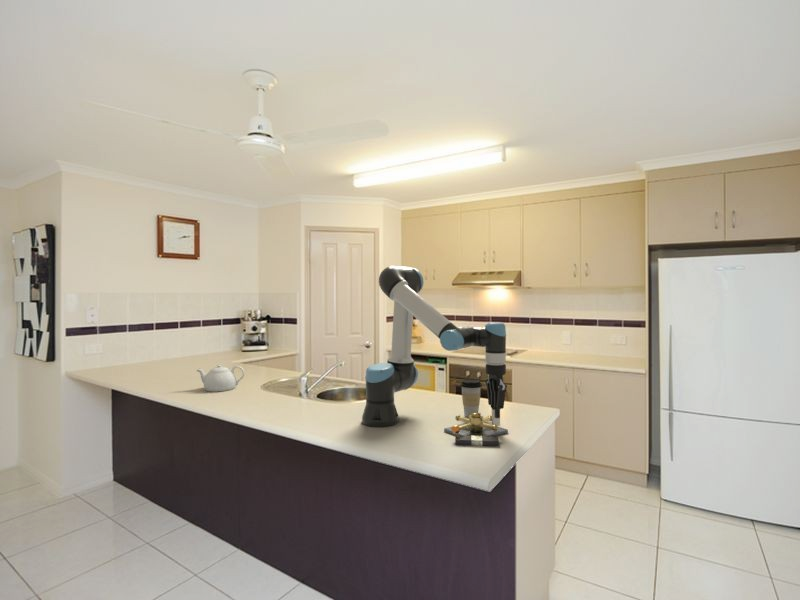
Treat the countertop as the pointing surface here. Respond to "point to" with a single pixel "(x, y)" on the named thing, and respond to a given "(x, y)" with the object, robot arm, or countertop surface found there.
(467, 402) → the coffee cup
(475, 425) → the handle
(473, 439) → the stand
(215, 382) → the teapot
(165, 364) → the countertop surface
